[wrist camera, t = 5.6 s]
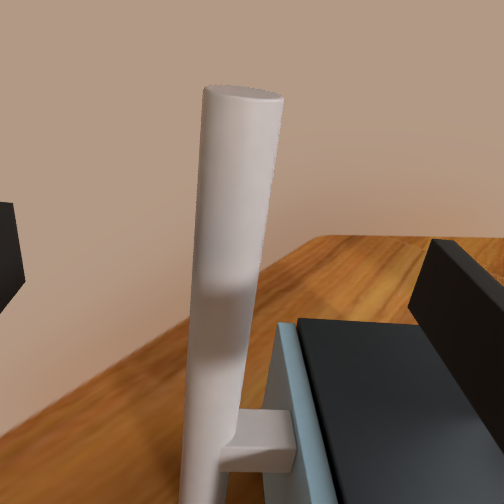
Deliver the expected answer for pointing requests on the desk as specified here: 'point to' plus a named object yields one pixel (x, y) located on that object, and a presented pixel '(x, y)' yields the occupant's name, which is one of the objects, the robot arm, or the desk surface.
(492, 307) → the robot arm
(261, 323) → the desk surface
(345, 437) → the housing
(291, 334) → the light blue plastic piece
